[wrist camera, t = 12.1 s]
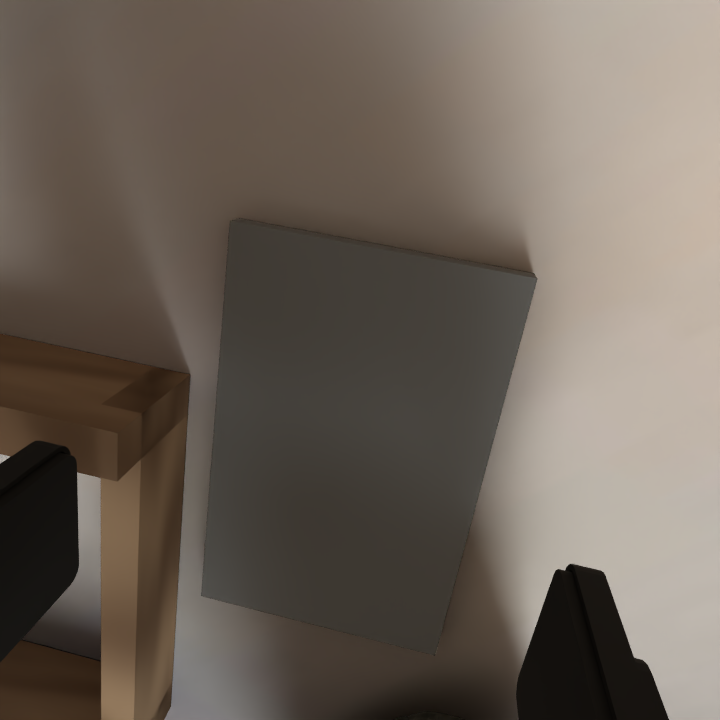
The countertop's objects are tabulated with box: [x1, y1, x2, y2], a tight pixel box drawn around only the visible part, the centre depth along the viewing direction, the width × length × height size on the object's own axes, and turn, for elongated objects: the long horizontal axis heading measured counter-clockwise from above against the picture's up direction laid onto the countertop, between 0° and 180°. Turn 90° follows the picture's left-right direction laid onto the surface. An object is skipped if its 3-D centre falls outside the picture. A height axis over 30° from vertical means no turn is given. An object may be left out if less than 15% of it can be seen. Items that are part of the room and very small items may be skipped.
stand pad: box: [201, 218, 537, 655], centre depth 15 cm, size 11×7×1 cm, turn 171°
